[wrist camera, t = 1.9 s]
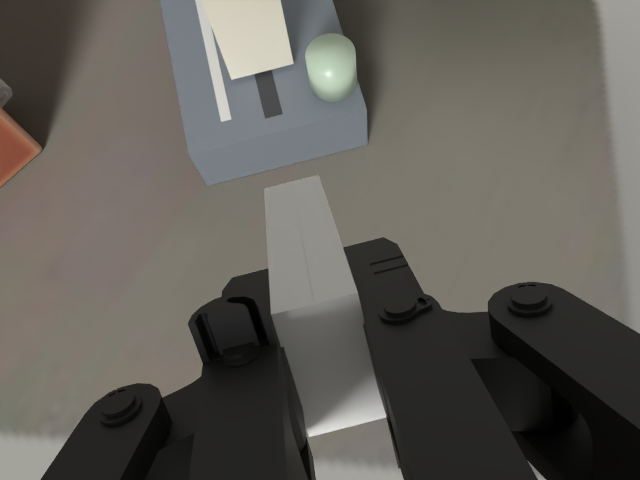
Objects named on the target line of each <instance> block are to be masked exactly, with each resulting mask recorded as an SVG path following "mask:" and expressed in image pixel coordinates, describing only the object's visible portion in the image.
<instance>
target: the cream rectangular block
mask: <svg viewBox="0 0 640 480" xmlns="http://www.w3.org/2000/svg"><path fill="white" fill-rule="evenodd" d="M201 1H202V3H203V6H204V8H205V11H206V14H207V16H208V19H209V22H210V24H211V27H212V30H213V32H214V35H215V37H216V40H217V43H218V45H219V48H220V51H221V53H222V56H223V59H224V61H225V64H226V67H227V69H228V72H229V74H230V77H231V80H233V79H237V78H241V77H245V76H249V75H252V74H256V73H260V72H264V71H268V70H272V69H276V68H280V67H283V66H287V65H291V64H294V63H293V58H292V53H291V48H290V43H289V39H288V34H287V29H286V24H285V19H284V14H283V10H282V5H281V0H201Z"/></svg>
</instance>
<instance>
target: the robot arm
mask: <svg viewBox="0 0 640 480" xmlns="http://www.w3.org/2000/svg"><path fill="white" fill-rule="evenodd" d="M264 196H265V215H266V233H267V251H268V269H264V270H260V271H256V272H253V273H249V274H245V275H241V276H237V277H233V278H232V279H231V280H230V281H229V283H228V284H227V285H226V287H225V288H224V289H223V291H222V297H220V298H217V299H214V300H212V301H211V302H209V303H207V304H205V305H204V306H202V307H200V308H199V309H198V310H197V311H196V312H195V313H194V314H193V315H192V316H191V318H190V320H189V322H188V326H189V328H190V331H191V333H192V336H193V339H194V341H195V344H196V346H197V349H198V352H199V354H200V357H201V360H202V362H203V367H202V375H201V377H200V378H198V379H197V380H196V381H194V382H193V383H191V384H189V385H188V386H186V387H184V388H182V389H180V390H178V391H176V392H174V393H171V394H169V395H167V396H165V397H163V398H162V396H161V394H160V391H159V389H158V388H157V387H155V386H153V385H151V384H140V383H137V384H133V385H128V386H124V387H121V388H118V389H117V390H113V391H112V392H110V393H108V394H107V395H105V396H104V397H103V398H101V399H100V400H98V401H97V402H95V403H94V404H93V406H92V407H91V408H90V409H89V410H88V411H87V412H86V413H85V415H84V416H83V418H82V419H81V421H80V422H79V424H78V425H77V427H76V428H75V429H74V431H73V432H72V434H71V435H70V437H69V438H68V440H67V441H66V443H65V444H64V446H63V447H62V449H61V450H60V452H59V453H58V455H57V456H56V458H55V459H54V461H53V462H52V464H51V465H50V466H49V468H48V469H47V471H46V472H45V474H44V475H43V477H42V478H41V480H316V478H315V470H314V463H313V456H312V453H311V450H310V447H309V444H308V440H307V437H306V430H305V426H306V429H307V432H308V435H309V437H311V436H315V435H319V434H323V433H327V432H331V431H335V430H339V429H343V428H346V427H350V426H354V425H358V424H362V423H366V422H370V421H374V420H378V419H382V418H386V417H387V422H388V426H389V430H390V434H391V438H392V443H393V447H394V451H395V455H396V460H397V464H398V468H401V472H402V475H403V479H404V480H538V479H537V477H536V476H535V474H534V472H533V470H532V468H531V467H530V465H529V463H528V461H529V462H530V463H531V464H532V465H533V466H534V468H535V469H536V470H537V471H538V472H539V473H540V474H541V475H542V476H543V477H544V478H545V479H546V480H640V334H639V333H637V332H636V331H634V330H632V329H631V328H629V327H627V326H626V325H624V324H622V323H620V322H619V321H617V320H615V319H614V318H612V317H610V316H608V315H607V314H605V313H603V312H602V311H600V310H598V309H597V308H595V307H593V306H591V305H590V304H588V303H586V302H585V301H583V300H581V299H580V298H578V297H576V296H574V295H573V294H571V293H569V292H568V291H566V290H564V289H562V288H559V287H557V286H554V285H552V284H546V283H538V282H527V283H525V282H524V283H518V284H515V285H511V286H508V287H505V288H503V289H501V290H499V291H498V292H496V293H494V294H493V296H492V297H491V298H490V300H489V301H488V312H475V313H457V312H451V311H446V310H443V309H442V308H441V307H440V305H439V303H438V302H437V301H436V300H435V299H434V298H433V297H432V296H429V295H426V294H424V293H423V291H422V289H421V287H420V285H419V283H418V281H417V280H416V278H415V276H414V274H413V272H412V270H411V268H410V267H409V266H408V263H407V261H406V259H405V257H404V256H403V254H402V252H401V250H400V248H399V246H398V244H396V243H394V242H392V241H390V240H388V239H386V238H384V237H383V238H379V239H375V240H371V241H367V242H363V243H359V244H355V245H352V246H348V247H344V248H343V246H342V243H341V240H340V237H339V234H338V231H337V228H336V225H335V222H334V219H333V216H332V213H331V210H330V207H329V204H328V201H327V198H326V195H325V192H324V189H323V186H322V183H321V180H320V177H319V175H315V176H311V177H307V178H303V179H299V180H296V181H292V182H288V183H284V184H280V185H276V186H272V187H268V188H264ZM526 459H527V460H528V461H527V460H526Z"/></svg>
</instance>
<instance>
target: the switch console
mask: <svg viewBox="0 0 640 480" xmlns="http://www.w3.org/2000/svg"><path fill="white" fill-rule="evenodd" d="M160 3H161V9H162V14H163V19H164V25H165V30H166V36H167V41H168V46H169V52H170V57H171V62H172V68H173V73H174V79H175V84H176V89H177V95H178V100H179V106H180V111H181V116H182V122H183V127H184V133H185V138H186V143H187V149H188V154H189V156H190V158H191V159H192V161H193V163H194V164H195V166H196V168H197V169H198V171H199V173H200V174H201V176H202V177H203V179H204V181H205V182H206V184H207V186H210V185H213V184H217V183H221V182H225V181H229V180H233V179H237V178H241V177H244V176H248V175H252V174H256V173H260V172H264V171H268V170H272V169H275V168H279V167H283V166H287V165H291V164H295V163H299V162H302V161H306V160H310V159H314V158H318V157H322V156H326V155H330V154H333V153H337V152H341V151H345V150H349V149H353V148H357V147H361V146H364V145H368V138H367V108H366V105H365V102H364V98H363V95H362V92H361V89H360V86H359V83H358V79H357V85H356V88H355V90H354V91H353V93H352V94H351V95H350V96H349V97H347V98H346V99H344V100H341V101H337V102H327V101H323V100H321V99H319V98H318V97H316V96H315V95H314V93H313V92H312V90H311V88H310V82H309V76H308V71H307V65H306V59H305V52H306V49H307V47H308V45H309V44H310V43H311V41H313V40H314V39H315V38H317V37H318V36H321V35H324V34H329V33H334V34H340V35H343V32H342V29H341V26H340V22H339V19H338V16H337V13H336V10H335V7H334V3H333V0H281V5H282V10H283V14H284V19H285V24H286V29H287V34H288V39H289V43H290V48H291V53H292V58H293V63H294V64H291V65H287V66H283V67H280V68H276V69H272V70H268V71H264V72H260V73H256V74H252V75H249V76H245V77H241V78H237V79H233V80H231V77H230V74H229V72H228V69H227V67H226V64H225V61H224V59H223V56H222V53H221V51H220V48H219V45H218V43H217V40H216V37H215V35H214V32H213V30H212V27H211V24H210V22H209V19H208V16H207V14H206V11H205V8H204V6H203V3H202V1H201V0H160ZM343 36H344V35H343Z"/></svg>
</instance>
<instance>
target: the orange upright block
mask: <svg viewBox="0 0 640 480" xmlns="http://www.w3.org/2000/svg"><path fill="white" fill-rule="evenodd" d="M12 95H13V94H12V91H11V88H10V87H9V86H8V85H7V84H6V83H5V82H4V81H3V80H1V79H0V187H2V186H3V185H4V184H5V183H6V182H7V181H8V180H10V179H11V178H12V177H13V176H14V175H15V174H16V173H17V172H19V171H20V170H21V169H22V168H23V167H24V166H25V165H27V164H28V163H29V162H30V161H31V160H32V159H33V158H35V157H36V156H37V155H38V154H39V153H40V152H41V151H42V148H41V145H40V144H39V143H38V142H36V141H35V140H34V139H33V138H32V137H31V136H30V135H29V134H28V133H27V132H26V131H25V130H24V129H23V128H22V127H21V126H20V125H19V124H18V123H17V122H16V121H15V120H14V119H13V118H12V117H11V116H10V115H9V114H8V113H7V112H6V111H5V110H3V109H2V107H3V106H4V105H5V104H6V103H7V102H8V100H9V99H10V98H11V97H12Z"/></svg>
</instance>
